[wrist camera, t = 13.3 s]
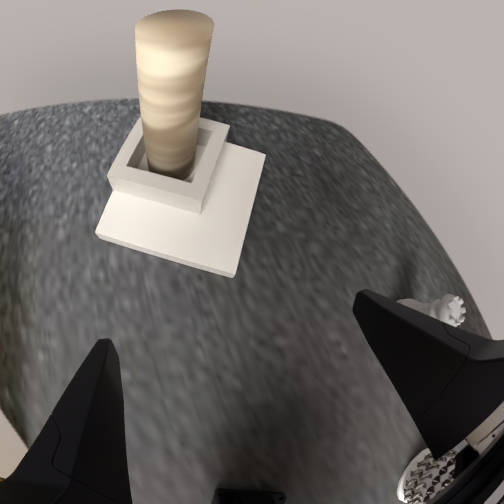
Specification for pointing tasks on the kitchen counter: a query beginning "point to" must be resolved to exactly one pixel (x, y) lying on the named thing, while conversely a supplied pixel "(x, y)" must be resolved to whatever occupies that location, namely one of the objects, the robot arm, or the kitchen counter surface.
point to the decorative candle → (426, 477)
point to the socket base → (184, 202)
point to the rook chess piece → (440, 308)
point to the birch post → (172, 86)
